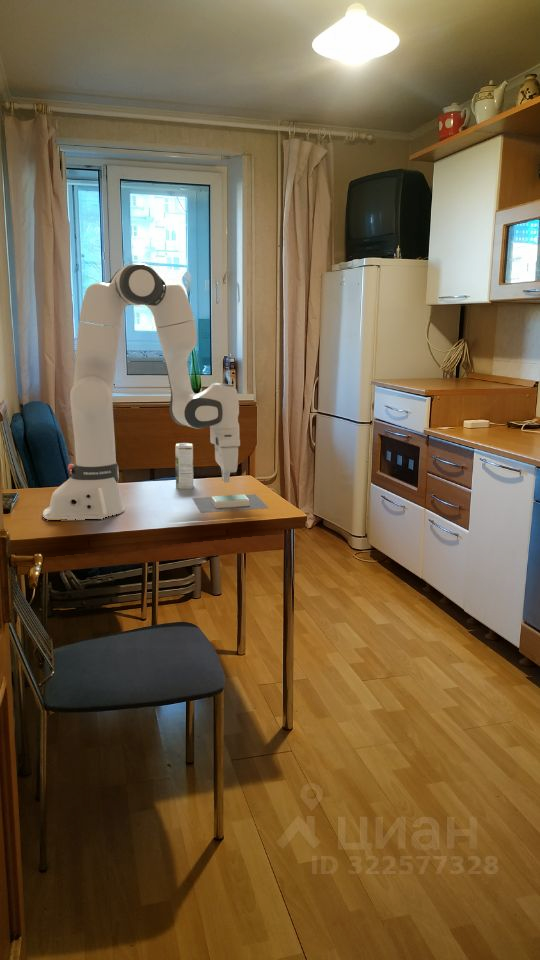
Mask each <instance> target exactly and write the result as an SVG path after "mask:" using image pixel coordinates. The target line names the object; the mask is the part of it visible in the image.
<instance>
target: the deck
mask: <svg viewBox="0 0 540 960" xmlns="http://www.w3.org/2000/svg"><path fill="white" fill-rule="evenodd" d="M245 495H246V494H229V495H213V496H211V497H212V503H213V505H214V506H215V508H224V507H239V506H249V499H248V498H247V497H246V496H245Z"/></svg>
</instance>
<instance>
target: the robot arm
mask: <svg viewBox="0 0 540 960" xmlns="http://www.w3.org/2000/svg"><path fill="white" fill-rule="evenodd" d="M128 306H146V307H147V308H148V309H149V310H150V312H151V314H152V316H153V319H154V324H155V328H156V332H157V337H158V340H159V343H160V346H161V348H162V353H163V358H164V362H165V368H166V374H167V378H168V383H169V388H170V400H169V401H170V402H169V407H168V408H169V414H170V417H171V419H172V421H174V423H176V424H177V425H179V426H183V427H184V426H185V427H189V428H192V429H198V430H199V429H200V430H201V429H205V428H208V427H209V431H210V432H209V435H210V439H209V440H210V441H209V442H210V443H211V444H213V445H214V459H215V462H216V464H218V466H219V467H220V471H221V477H222V478H221V479H222V481H223V482H224V483H225V484H226V483H229V482H231V481H230V479H231V478H230V477H231V476H230V475H231V473H236V472H237V470H238V463H239V462H238V460H239V447H240V446H241V439H240V438H241V437H240V423H239V415H240V404H239V403H240V402H239V395H238V390H237V388H236V387H235V386H233V385H232V384H227V383H220V382H214V383H213V382H212V383H211V384H210V385H209V387H207V388H206V389H204V390H202V391H200V392H198V393H195V392H194V390H193V388H192V383H191V382H192V381H191V378H190V372H189V366H188V361H189V357H190V355H191V353H192V352H193V351H194V349H195V347H196V346H197V343H198V335H197V334H198V333H197V332H198V331H197V325H196V320H195V317H194V314H193V309H192V306H191V304H190V301H189V298H188V296H187V294H186V291H185V290H184V288H183V286H181V285H180V284H177V283H174V282H165V281H164V279H162V278H161V276H160V275H159V274H158V273H157V272H156V270H154V268H153V267H151V266H150V265H148V264H147V263H143V262H131V263H127V264H125V265H123V266H122V267H120V268H119V269H118V270H117V271H116V272H115V274H114V275H113V276H112V278H111V279H110V280H109V281H108V283H106V282H95V283H92V284H90V285H89V286H87V288H86V290H85V291H84V296H83V300H82V303H81V307H80V313H79V320H78V328H77V329H78V330H77V339H76V347H75V361H74V362H75V363H74V375H73V384H72V387H71V390H70V395H69V399H70V408H71V409H70V410H71V418H72V419H71V420H72V421H71V423H72V429H73V437H74V455H75V463H74V464H73V463H70V464H68V466H67V471H68V475H69V477H68V479H67V480H66V481H64V482H63V483H62V484H61V485H59V487H57V488H56V489H55V490H54V491H53V492H52V494H51V497H50V504H49V506H48V507H46V508H45V509H44V510H43V512H42V518H43V517H44V518H46V519H67V520H66V521H86V520H85V519H101V520H104V519H106V518H105V517H107V518H109V517H112V515H113V516H116V514H117V515H119V514H122V513H123V512H124V511H125V507H124V504H123V502H122V498H121V493H120V489H119V479H120V475H119V465H118V462H117V459H116V456H117V455H116V437H115V422H114V410H113V409H114V404H113V403H114V402H113V392H114V383H115V376H116V368H117V360H118V351H119V341H120V336H121V334H120V333H121V327H122V316H123V314H124V311H125V309H126V308H127V307H128ZM108 516H109V517H108ZM44 518H43V519H44ZM103 518H104V519H103ZM75 519H76V520H75Z"/></svg>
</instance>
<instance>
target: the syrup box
mask: <svg viewBox="0 0 540 960" xmlns="http://www.w3.org/2000/svg"><path fill="white" fill-rule="evenodd" d="M174 451H175V452H174V453H175V454H174V455H175V459H174V460H175V489H177V490H187V489H188V490H189V489H194V444H193V443H189V442H179V443H176V444H175V449H174Z"/></svg>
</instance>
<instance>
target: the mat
mask: <svg viewBox="0 0 540 960" xmlns="http://www.w3.org/2000/svg"><path fill="white" fill-rule="evenodd" d="M244 495H245V496H246V497H247V498H248V499H249V506H239V507H224V508H215V506H214V505H213V503H212V497H213V496H207V497H205V496H204V497H192V500H193V502H194V504H195V506H196V507H197V509H198V511H199V512H200V513H201V514H202V513H203V514H205V513H214V512H216V513H218V512H230V511H231V512H232V511H233V512H234V511H244V510H245V511H246V510H248V511H249V510H259V509H260V510H262V509H263V510H264V509H269V508H270V507H269V506H268V505H267V504H266V503H265V502H264V501H263V500H262V499H261V498H260V497H259V496H258V495H257V494H256V493H254V494H253V493H252V494H244Z"/></svg>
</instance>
